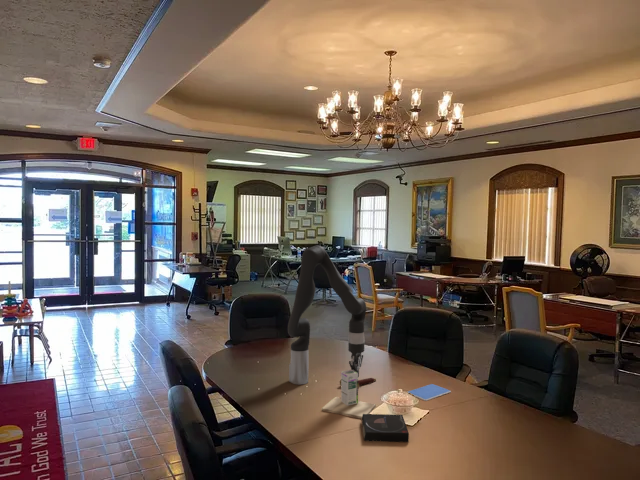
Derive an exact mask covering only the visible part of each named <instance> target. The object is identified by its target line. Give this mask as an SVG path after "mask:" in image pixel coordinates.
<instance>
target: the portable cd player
mask: <svg viewBox="0 0 640 480" xmlns="http://www.w3.org/2000/svg"><path fill="white" fill-rule="evenodd" d="M361 427H362V436H363V440H364V441H365V442H378V443H382V442H384V443H386V442H388V443H389V442H390V443H409V442H410V440H409V439H410V434H409V433H410V431H409V430H408V428H407V427H408V426H407V424H406V421H405V419H404V414H387V413H386V414H385V413H384V414H381V413H380V414H379V413H377V414H376V413H370V414H363V416H362V419H361Z"/></svg>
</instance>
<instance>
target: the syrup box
mask: <svg viewBox="0 0 640 480" xmlns="http://www.w3.org/2000/svg"><path fill="white" fill-rule="evenodd" d="M340 380H341V386H340V387H341V388H340V391H341V397H340V398H341V401H342V402H343V403H344V404H345V405H347V406H349V405H353V404H358V401H359V389H358V380H359V377H358V373H357V372H356V371H354V370H352V369H351V368H350V369H349V370H348V369H347V370H342V371H341V372H340Z"/></svg>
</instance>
